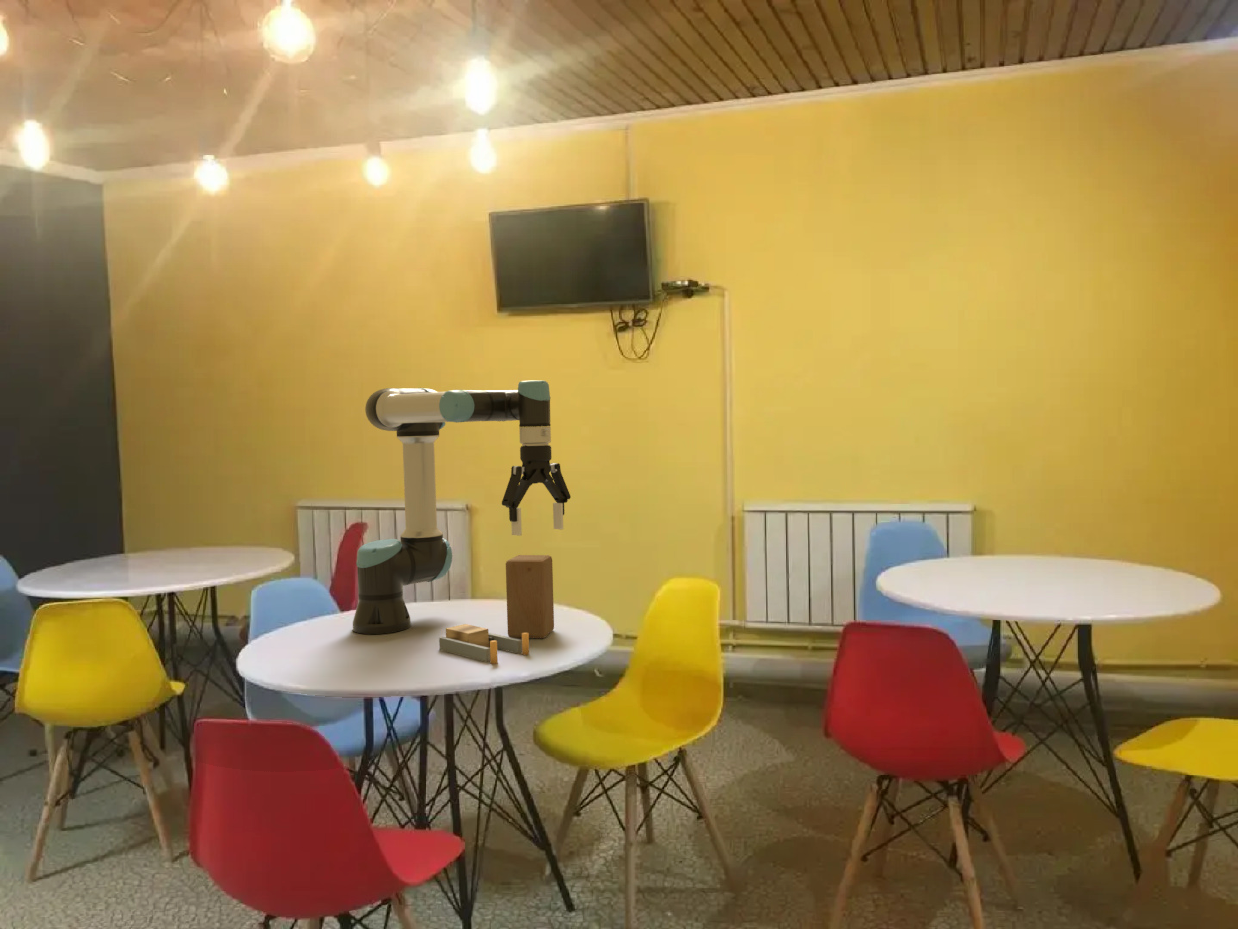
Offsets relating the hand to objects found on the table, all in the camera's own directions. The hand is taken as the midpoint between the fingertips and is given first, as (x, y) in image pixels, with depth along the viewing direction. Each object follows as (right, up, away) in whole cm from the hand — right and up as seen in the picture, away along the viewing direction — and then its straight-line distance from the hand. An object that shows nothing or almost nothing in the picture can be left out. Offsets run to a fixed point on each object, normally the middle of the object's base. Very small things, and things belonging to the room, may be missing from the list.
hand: (538, 532), depth 222 cm
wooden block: (-3, -28, +14) cm, 31 cm away
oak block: (-17, -29, +1) cm, 33 cm away
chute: (-13, -29, -3) cm, 31 cm away
